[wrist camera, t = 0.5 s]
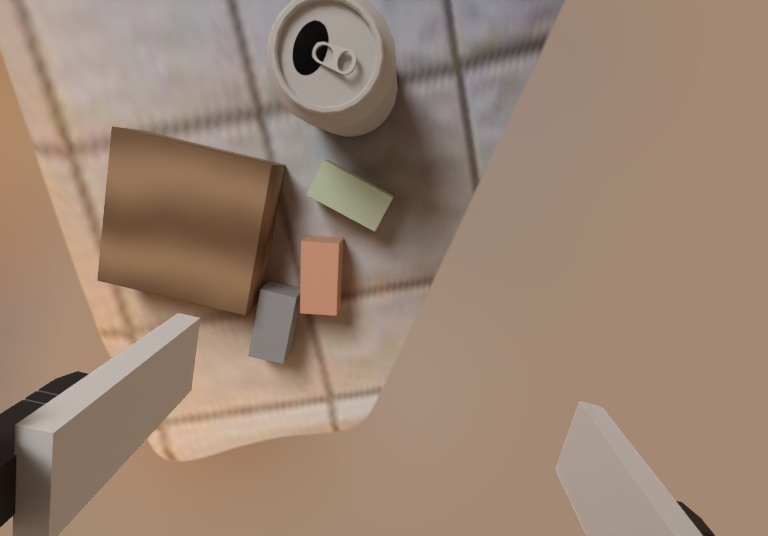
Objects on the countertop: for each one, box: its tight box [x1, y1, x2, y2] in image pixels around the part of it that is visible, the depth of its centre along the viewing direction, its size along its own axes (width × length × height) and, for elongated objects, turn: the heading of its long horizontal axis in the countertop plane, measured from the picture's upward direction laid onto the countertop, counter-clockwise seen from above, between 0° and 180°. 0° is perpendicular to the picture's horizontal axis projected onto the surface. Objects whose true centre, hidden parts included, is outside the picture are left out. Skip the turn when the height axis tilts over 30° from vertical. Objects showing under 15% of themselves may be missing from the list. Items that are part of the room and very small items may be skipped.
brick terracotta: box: [300, 236, 344, 316], centre depth 38 cm, size 6×3×3 cm, turn 177°
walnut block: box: [98, 127, 285, 315], centre depth 37 cm, size 12×12×4 cm
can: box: [265, 0, 398, 137], centre depth 30 cm, size 8×8×12 cm
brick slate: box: [248, 281, 300, 364], centre depth 39 cm, size 6×3×3 cm, turn 167°
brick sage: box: [307, 160, 394, 232], centre depth 37 cm, size 6×3×3 cm, turn 62°
